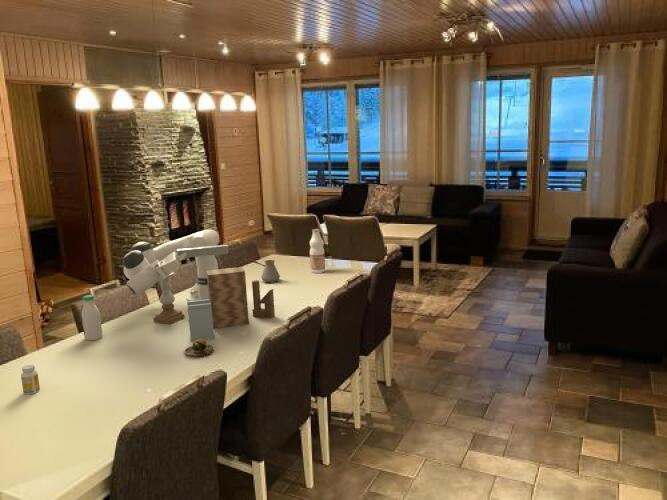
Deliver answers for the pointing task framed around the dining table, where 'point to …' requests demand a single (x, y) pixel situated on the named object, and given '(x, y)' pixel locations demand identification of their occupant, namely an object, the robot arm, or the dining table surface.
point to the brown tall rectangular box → (228, 297)
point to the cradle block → (200, 319)
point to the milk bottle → (91, 319)
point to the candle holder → (167, 304)
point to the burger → (199, 349)
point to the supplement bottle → (30, 380)
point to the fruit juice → (317, 253)
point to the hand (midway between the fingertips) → (185, 252)
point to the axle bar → (204, 251)
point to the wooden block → (262, 302)
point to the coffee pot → (268, 271)
